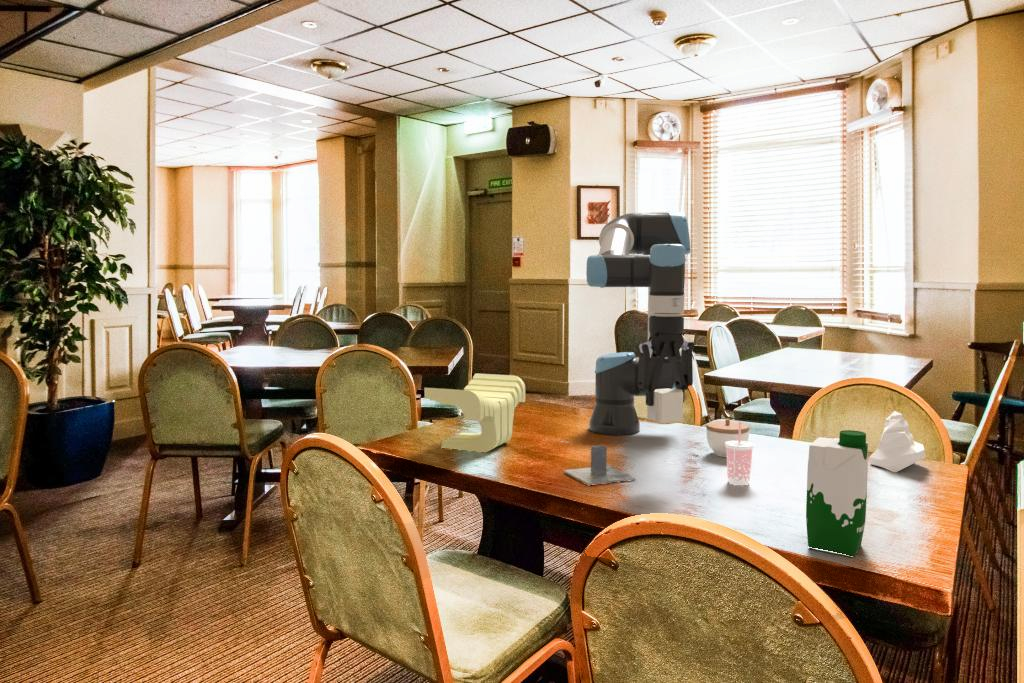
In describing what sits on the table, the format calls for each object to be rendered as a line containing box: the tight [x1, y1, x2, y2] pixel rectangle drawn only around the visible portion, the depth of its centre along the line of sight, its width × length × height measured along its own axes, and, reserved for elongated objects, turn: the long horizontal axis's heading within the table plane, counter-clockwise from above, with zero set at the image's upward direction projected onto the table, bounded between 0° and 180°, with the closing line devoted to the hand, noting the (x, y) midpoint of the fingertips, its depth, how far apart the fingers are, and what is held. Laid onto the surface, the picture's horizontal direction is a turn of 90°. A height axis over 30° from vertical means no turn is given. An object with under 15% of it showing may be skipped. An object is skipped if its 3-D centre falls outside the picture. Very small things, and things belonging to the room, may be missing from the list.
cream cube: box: [646, 388, 684, 424], centre depth 159 cm, size 6×6×7 cm
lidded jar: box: [705, 418, 750, 458], centre depth 186 cm, size 11×11×9 cm
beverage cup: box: [725, 420, 755, 485], centre depth 160 cm, size 6×6×14 cm
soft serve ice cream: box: [868, 410, 927, 473], centre depth 174 cm, size 12×15×14 cm
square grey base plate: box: [563, 444, 636, 485], centre depth 165 cm, size 12×12×7 cm
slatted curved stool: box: [423, 372, 526, 453], centre depth 196 cm, size 30×16×18 cm, turn 157°
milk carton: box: [805, 429, 869, 557], centre depth 121 cm, size 9×9×20 cm
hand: (664, 418), depth 160 cm, fingers closed on cream cube, 6 cm apart
